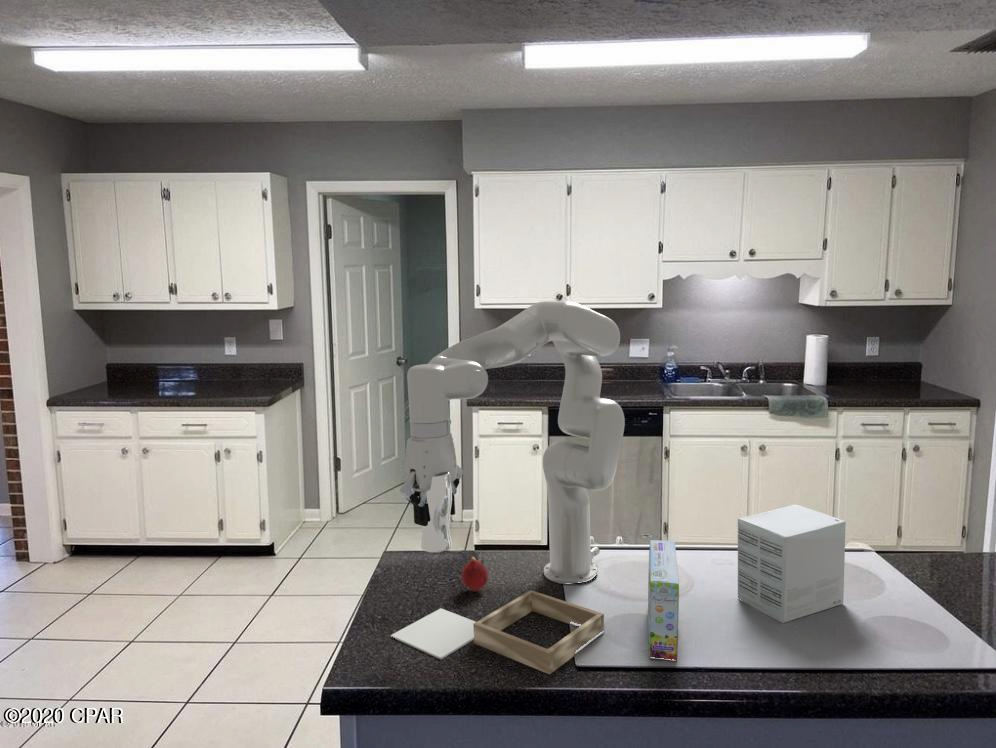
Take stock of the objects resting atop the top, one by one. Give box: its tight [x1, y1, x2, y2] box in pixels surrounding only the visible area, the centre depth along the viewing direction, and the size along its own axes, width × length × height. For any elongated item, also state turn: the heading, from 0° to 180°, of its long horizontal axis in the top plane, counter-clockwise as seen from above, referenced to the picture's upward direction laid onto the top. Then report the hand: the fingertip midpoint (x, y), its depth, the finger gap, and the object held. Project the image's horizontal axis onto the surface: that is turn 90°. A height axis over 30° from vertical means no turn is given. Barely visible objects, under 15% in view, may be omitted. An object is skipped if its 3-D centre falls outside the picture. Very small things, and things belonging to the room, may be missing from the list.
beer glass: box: [417, 471, 453, 553], centre depth 138 cm, size 7×7×15 cm
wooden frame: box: [473, 590, 605, 675], centre depth 138 cm, size 18×18×4 cm
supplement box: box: [737, 503, 847, 624], centre depth 148 cm, size 17×13×18 cm
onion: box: [461, 556, 489, 593], centre depth 159 cm, size 6×6×8 cm
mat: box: [390, 607, 477, 660], centre depth 142 cm, size 14×14×1 cm
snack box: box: [647, 539, 680, 661], centre depth 138 cm, size 21×6×15 cm, turn 168°
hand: (435, 518), depth 139 cm, fingers closed on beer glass, 6 cm apart
